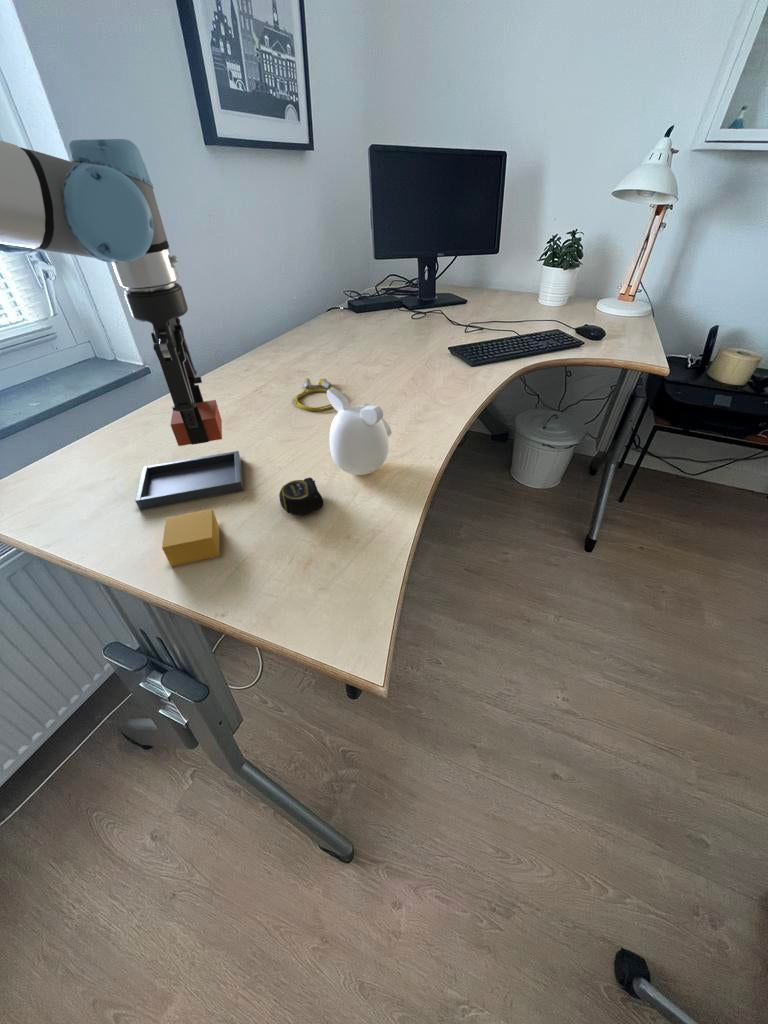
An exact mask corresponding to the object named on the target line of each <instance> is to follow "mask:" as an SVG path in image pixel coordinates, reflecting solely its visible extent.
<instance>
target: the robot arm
mask: <svg viewBox="0 0 768 1024" xmlns="http://www.w3.org/2000/svg"><path fill="white" fill-rule="evenodd" d="M68 150H69V152H70V153H69V154H70V160H71V161H70V160H67V159H63V158H61V157H56V156H55V155H54V156H53V155H51V154H47V153H44V152H41V151H36V150H33V149H28V148H24V147H20V146H18V145H17V144H13V143H10V142H7V141H3V140H0V252H1V253H3V254H10V255H11V254H20V253H27V254H33V253H34V252H38V251H44V252H45V251H46V252H52V253H60V254H65V255H73V256H77V257H78V256H79V257H84V258H89V259H90V258H91V259H96V260H98V261H101V262H106V263H111V264H112V266H113V269H114V273H115V275H116V278H117V280H118V283H119V285H120V286H121V287H123V288H124V289H125V290H124V292H123V294H124V299H125V300H126V303H127V306H128V308H129V311H130V313H131V316H132V318H133V319H135V320H136V321H138V322H143V323H145V322H147V323H150V324H151V325H152V330H153V332H151V339H152V342H153V348H152V349H153V351H154V352H155V355H156V357H157V359H158V361H159V364H160V367H161V370H162V373H163V376H164V379H165V382H166V385H167V388H168V391H169V394H170V397H171V400H172V403H173V406H174V407H173V406H172V407H171V409H172V412H173V411H180V414H181V417H182V420H183V422H184V425H185V428H186V431H187V433H188V436H189V439H190V442H191V444H190V445H191V446H193V445H200V444H205V443H206V444H207V443H209V442H210V441H209V440H208V437H207V434H206V430H205V427H204V424H203V421H202V418H201V415H200V412H199V409H198V406H197V404H196V403H197V402H204V399H203V395H202V392H201V388H200V385H199V384H203V381H202V376H197V374H198V372H197V370H196V368H195V365H194V362H193V358H192V356H191V352H190V350H189V346H188V344H187V342H186V337H185V333H184V328H183V325H182V324H181V319H180V317H183V316H185V315H186V314H187V313H188V311H189V310H188V308H189V307H188V304H187V301H186V297H185V295H184V291H183V287H182V285H180V283H177V281H178V279H179V275H178V271H177V268H176V266H175V264H178V263H179V258H178V257H177V255H171V249H170V245H169V241H168V237H167V234H166V231H165V227H164V223H163V220H162V216H161V213H160V209H159V205H158V204H157V203H158V202H157V199H156V196H155V192H154V185H153V183H152V180H151V178H150V175H149V173H148V170H147V167H146V163H145V161H144V159H143V156H142V154H141V151H140V149H139V147H138V146H137V145H136V144H135V143H134V142H133V141H131V140H130V139H126V138H107V139H106V138H103V139H100V138H99V139H96V138H95V139H73V140H71V141H70V142H69V143H68Z"/></svg>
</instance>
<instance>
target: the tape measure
mask: <svg viewBox="0 0 768 1024" xmlns="http://www.w3.org/2000/svg"><path fill="white" fill-rule="evenodd" d="M317 487H318V486H317V485H316V480H314V478H312V477H306V478H304V479H296V480H295V479H294V480H291V481H289V482H287V483H286V484H283V486H282V487H281V488H280V491H279V494H278V497H279V498H278V499H279V503H280V506H281V508H282V509H283V510H284V511H285V512H286V513H287V514H290V515H293V516H305V515H307V514H311V513H312V512H314V511H315V512H316V511H319V510H321V509H322V508H323V507H324V498H323V496H322V495H321V493H320V492H319V490H318V488H317Z"/></svg>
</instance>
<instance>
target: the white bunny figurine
mask: <svg viewBox="0 0 768 1024" xmlns="http://www.w3.org/2000/svg"><path fill="white" fill-rule="evenodd" d="M327 390H328V391H327V392H326V396H327V399H328V401H329V404H331V406H333V409H334V410H335V411H336V412H337V413H336V414H335V416H334V418H333V420H332V422H331V424H330V429H329V450H330V455H331V458H332V460H333V462H334V464H335V465H336V466H337V467H338V468H339V469H340V470H342V471H343V472H344V473H347V474H349V475H354V476H365V475H368V474H372V473H374V472H376V471H377V470H378V469H381V467H382V466H383V465H384V463H385V462H386V461H387V458H388V456H389V450H390V445H389V444H390V443H389V437H390V436H392V429H391V427H390V425H389V424H388V422H387V420H386V419H385V418H384V411H383V409H382V408H381V406H379V405H370V404H369V403H368V402H365V403H364V404H362V405H351V406H350V404H349V400H348V399H347V397H346V396H345V395H344V394H343V393H342V392H341V391H339V390H338V389H336V388H335V387H332V388H331V389H327Z"/></svg>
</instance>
